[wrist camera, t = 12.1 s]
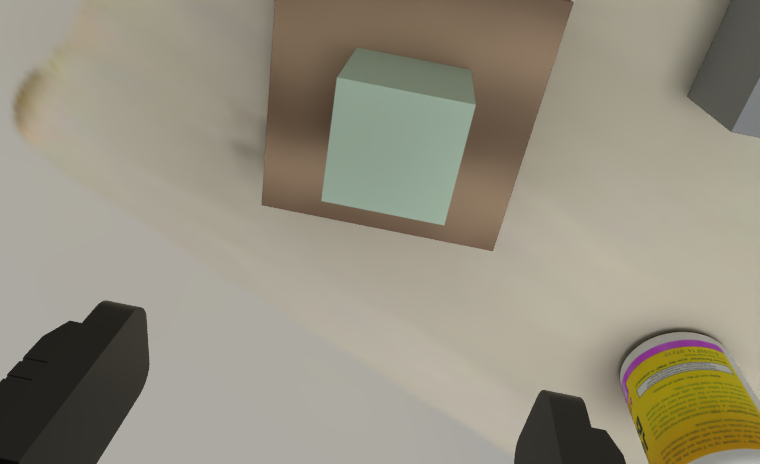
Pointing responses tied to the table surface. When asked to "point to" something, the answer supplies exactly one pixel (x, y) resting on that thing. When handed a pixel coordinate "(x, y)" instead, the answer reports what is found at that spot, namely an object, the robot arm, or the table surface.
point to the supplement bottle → (691, 402)
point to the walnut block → (424, 42)
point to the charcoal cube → (733, 71)
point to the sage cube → (398, 135)
